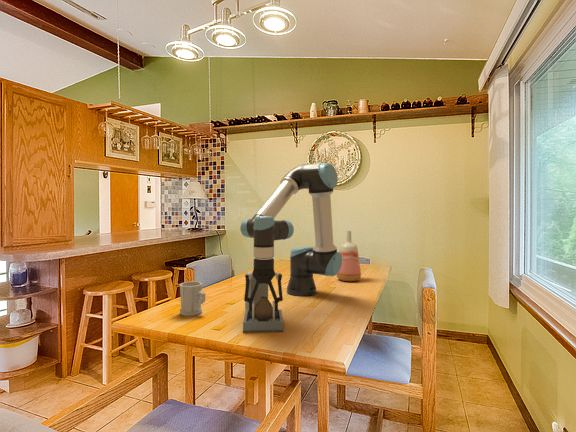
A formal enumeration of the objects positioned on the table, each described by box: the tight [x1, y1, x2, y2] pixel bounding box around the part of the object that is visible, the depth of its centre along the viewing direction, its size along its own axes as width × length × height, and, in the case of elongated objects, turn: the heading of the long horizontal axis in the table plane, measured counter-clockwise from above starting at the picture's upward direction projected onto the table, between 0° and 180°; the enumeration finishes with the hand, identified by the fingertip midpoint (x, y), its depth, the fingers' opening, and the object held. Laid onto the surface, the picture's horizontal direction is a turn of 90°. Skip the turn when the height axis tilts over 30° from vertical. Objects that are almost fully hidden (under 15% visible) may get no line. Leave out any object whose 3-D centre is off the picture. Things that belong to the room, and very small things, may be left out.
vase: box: [254, 296, 273, 321], centre depth 123 cm, size 7×7×9 cm
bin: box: [242, 308, 284, 333], centre depth 123 cm, size 14×14×4 cm
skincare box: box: [244, 272, 269, 311], centre depth 140 cm, size 8×7×16 cm
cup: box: [179, 281, 206, 317], centre depth 136 cm, size 10×9×12 cm
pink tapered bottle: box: [336, 230, 362, 283], centre depth 199 cm, size 14×14×30 cm
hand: (263, 319), depth 123 cm, fingers closed on vase, 7 cm apart
